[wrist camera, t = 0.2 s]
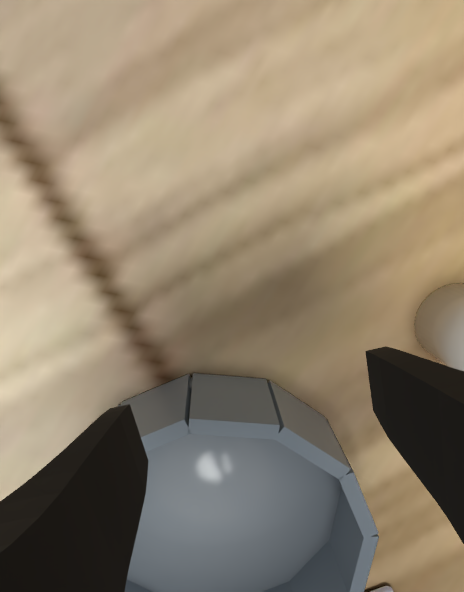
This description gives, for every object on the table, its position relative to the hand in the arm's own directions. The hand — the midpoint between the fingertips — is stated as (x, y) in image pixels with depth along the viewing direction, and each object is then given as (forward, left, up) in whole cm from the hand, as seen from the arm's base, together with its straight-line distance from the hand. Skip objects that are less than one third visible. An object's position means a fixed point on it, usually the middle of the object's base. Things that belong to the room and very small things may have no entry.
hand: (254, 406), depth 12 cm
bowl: (-11, +6, -10) cm, 16 cm away
